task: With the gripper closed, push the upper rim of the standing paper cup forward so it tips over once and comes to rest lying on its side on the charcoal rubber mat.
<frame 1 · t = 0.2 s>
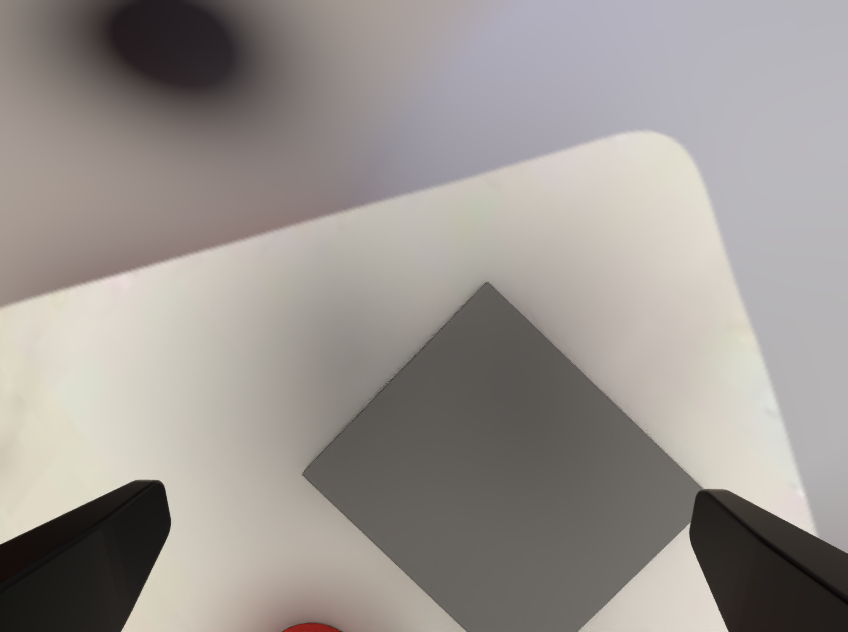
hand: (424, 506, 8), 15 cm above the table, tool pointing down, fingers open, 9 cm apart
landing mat: (503, 482, 24), on the table
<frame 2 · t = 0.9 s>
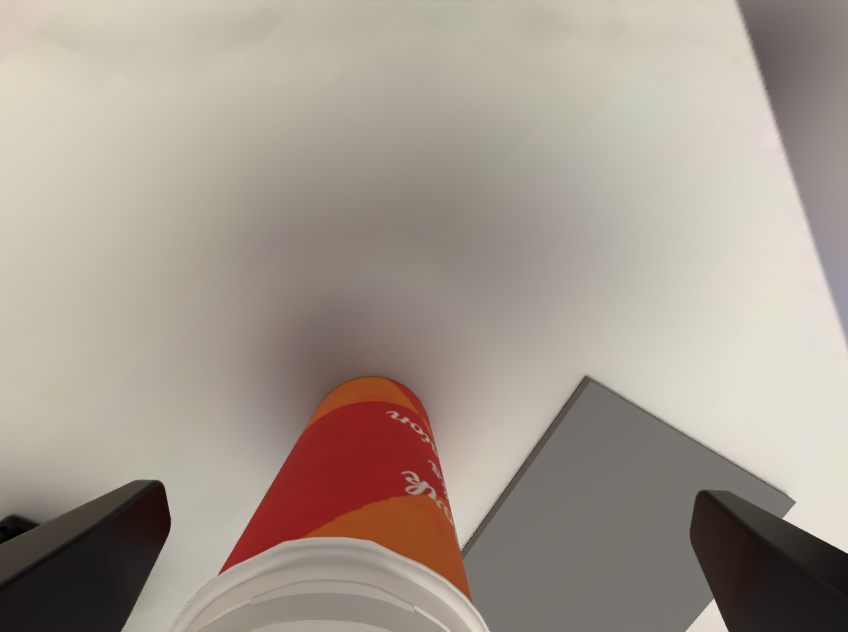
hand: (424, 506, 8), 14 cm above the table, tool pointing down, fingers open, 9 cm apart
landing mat: (603, 550, 25), on the table
paper cup: (372, 426, 23), on the table
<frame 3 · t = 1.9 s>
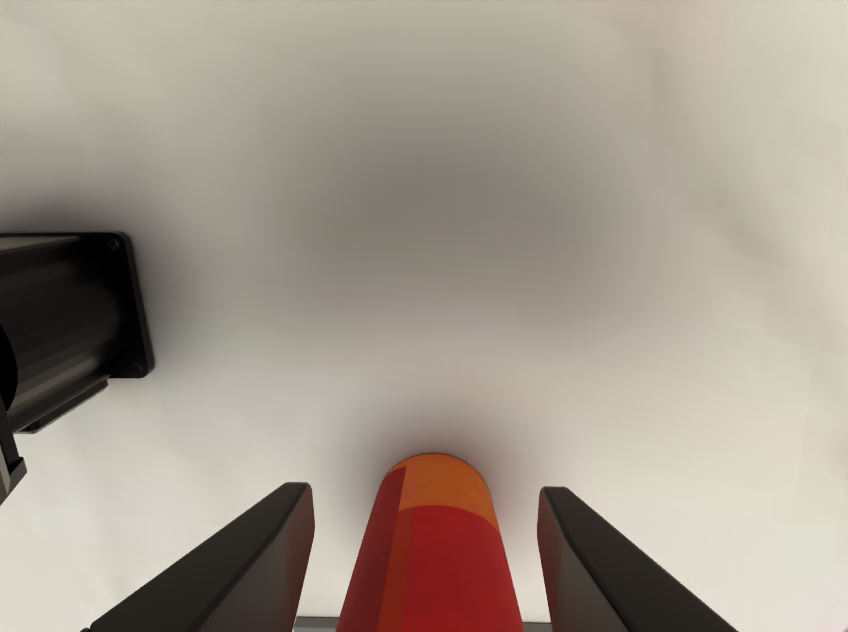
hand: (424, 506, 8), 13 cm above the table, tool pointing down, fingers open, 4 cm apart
paper cup: (435, 499, 24), on the table
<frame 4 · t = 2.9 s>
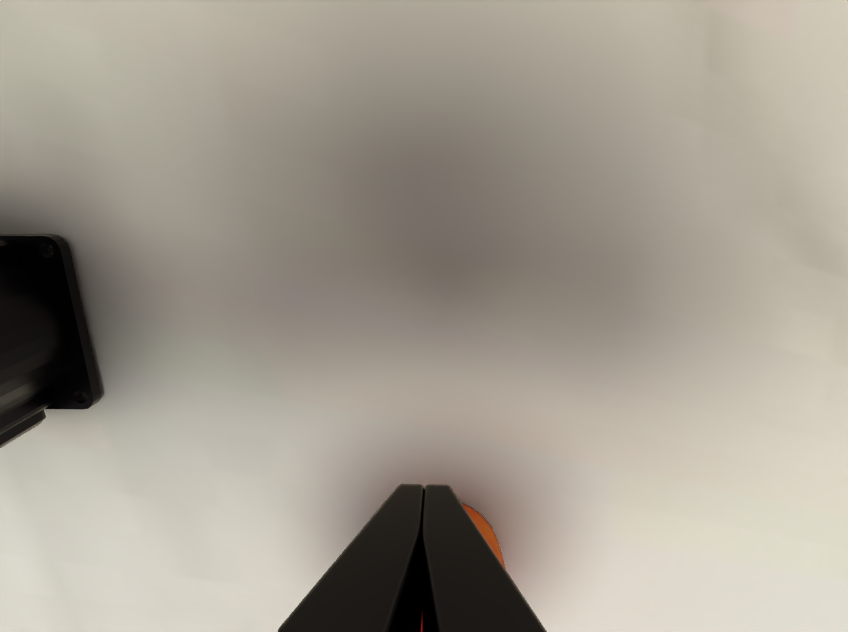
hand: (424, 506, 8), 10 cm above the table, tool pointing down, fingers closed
paper cup: (434, 548, 20), on the table
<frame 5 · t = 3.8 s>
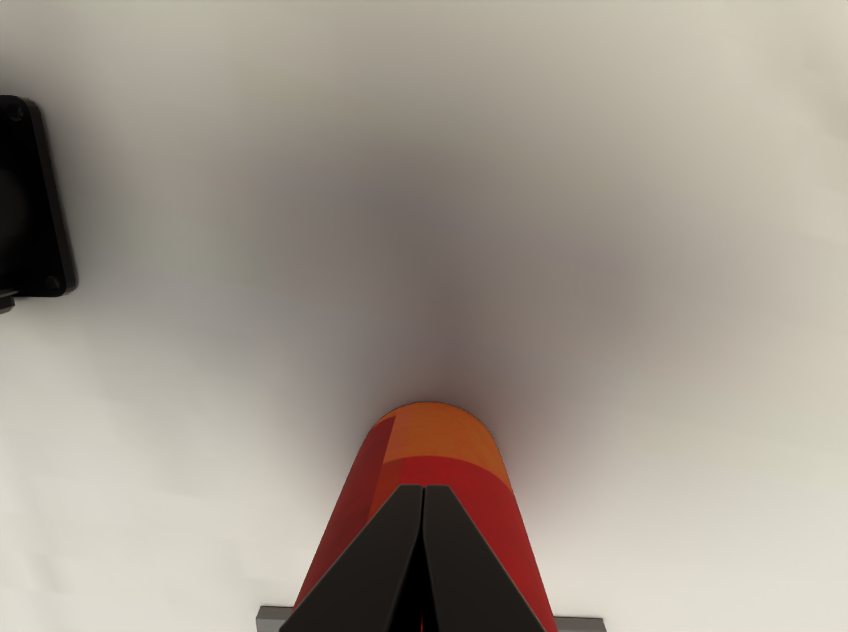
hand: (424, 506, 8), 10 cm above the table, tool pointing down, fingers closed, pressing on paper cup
paper cup: (431, 461, 19), on the table, touching gripper
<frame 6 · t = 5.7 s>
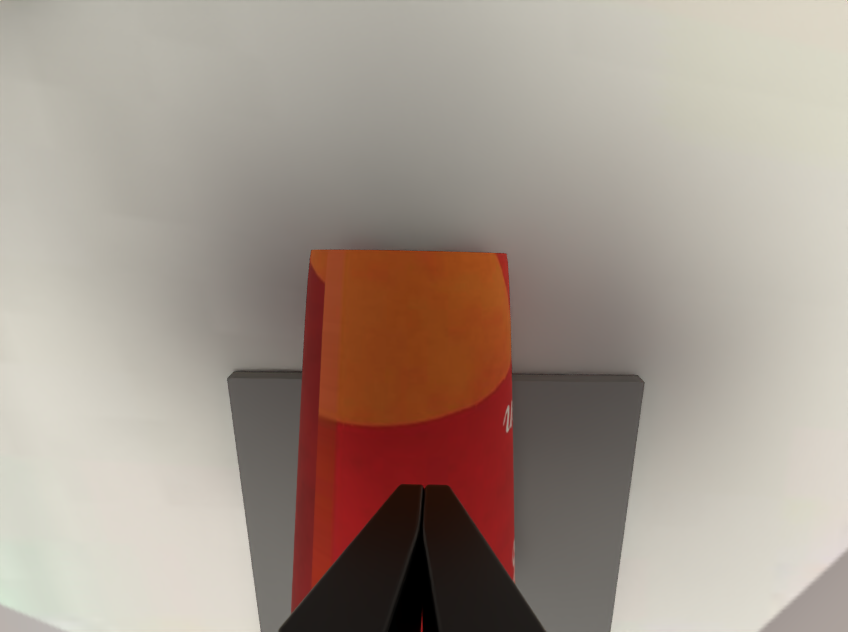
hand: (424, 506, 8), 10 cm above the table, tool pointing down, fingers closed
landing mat: (432, 520, 19), on the table
paper cup: (411, 244, 14), point 3 cm above the table, touching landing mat
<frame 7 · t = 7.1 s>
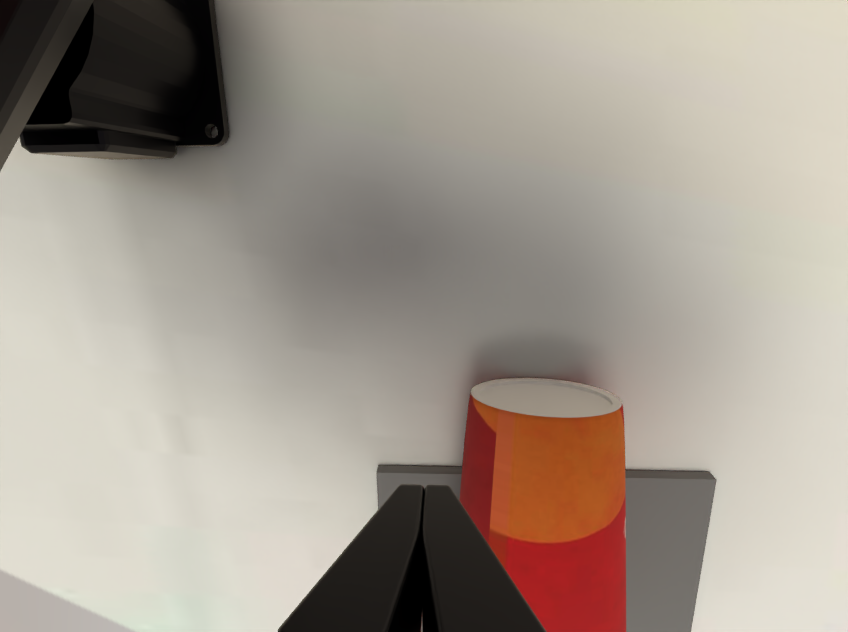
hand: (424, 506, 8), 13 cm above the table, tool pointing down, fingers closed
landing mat: (534, 583, 24), on the table
paper cup: (545, 389, 18), point 3 cm above the table, touching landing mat
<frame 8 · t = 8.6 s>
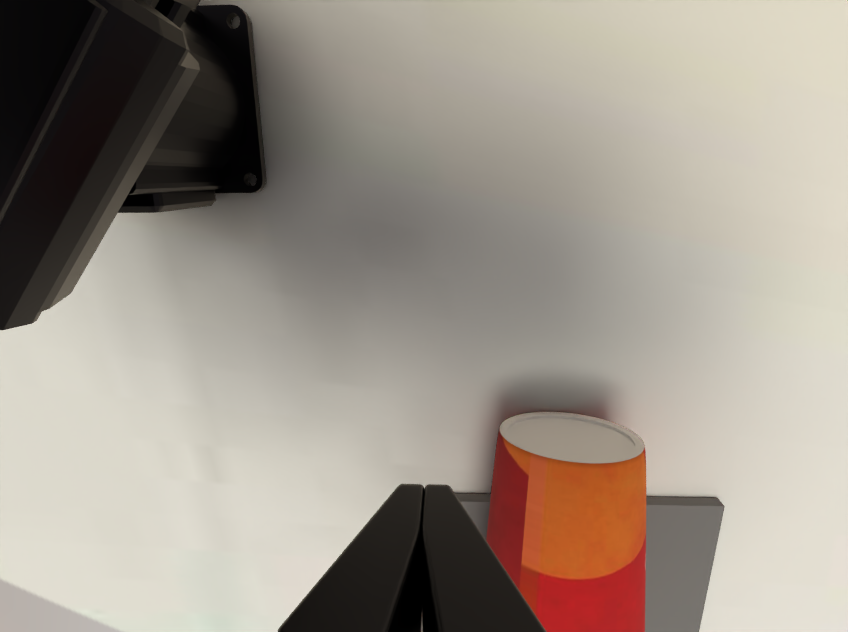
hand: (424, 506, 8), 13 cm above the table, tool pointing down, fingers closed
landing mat: (549, 601, 25), on the table
paper cup: (570, 429, 19), point 3 cm above the table, touching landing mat
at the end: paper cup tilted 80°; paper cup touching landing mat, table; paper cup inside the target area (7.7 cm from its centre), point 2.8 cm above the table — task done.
